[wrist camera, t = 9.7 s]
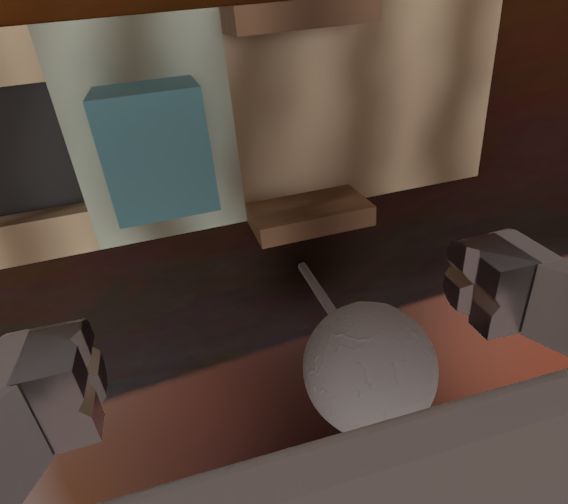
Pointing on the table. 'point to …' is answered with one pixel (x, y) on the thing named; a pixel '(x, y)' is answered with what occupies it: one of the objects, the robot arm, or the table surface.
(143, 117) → the block
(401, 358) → the lollipop
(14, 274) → the table surface
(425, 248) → the table surface
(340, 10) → the deck
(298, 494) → the robot arm
